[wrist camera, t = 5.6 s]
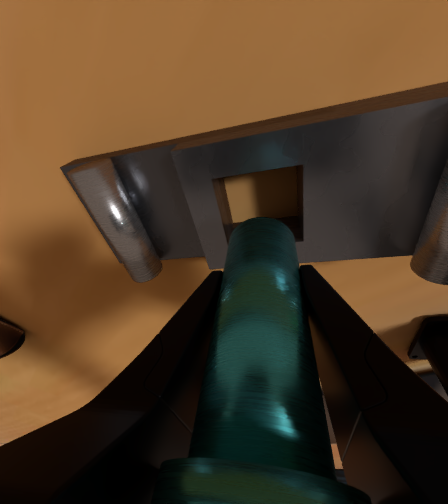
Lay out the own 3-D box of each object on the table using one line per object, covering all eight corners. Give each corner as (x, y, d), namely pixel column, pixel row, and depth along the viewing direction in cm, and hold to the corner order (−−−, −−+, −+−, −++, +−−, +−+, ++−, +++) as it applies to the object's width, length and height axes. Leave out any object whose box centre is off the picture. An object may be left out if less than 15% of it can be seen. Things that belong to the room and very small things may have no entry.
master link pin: (306, 274, 12) (370, 590, 5) (227, 278, 12) (182, 548, 6) (307, 200, 9) (440, 621, 2) (209, 212, 10) (92, 540, 3)
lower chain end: (322, 233, 17) (335, 270, 14) (128, 252, 21) (105, 284, 18) (329, 106, 12) (351, 121, 9) (74, 159, 16) (30, 182, 13)
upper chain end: (455, 220, 15) (528, 281, 11) (216, 243, 19) (202, 295, 15) (525, 65, 10) (702, 68, 6) (185, 136, 14) (152, 168, 10)
